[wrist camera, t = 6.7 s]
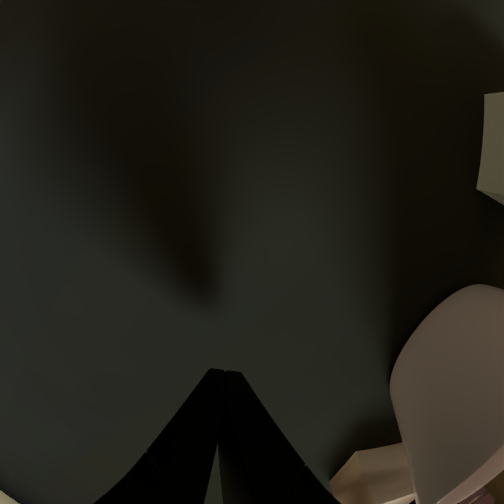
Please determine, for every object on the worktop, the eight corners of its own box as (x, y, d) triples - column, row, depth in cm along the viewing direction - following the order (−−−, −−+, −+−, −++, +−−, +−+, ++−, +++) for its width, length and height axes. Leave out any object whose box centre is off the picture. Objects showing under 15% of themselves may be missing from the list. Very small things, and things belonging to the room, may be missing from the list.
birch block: (379, 471, 13) (395, 512, 9) (329, 480, 13) (341, 527, 9) (408, 439, 12) (432, 485, 8) (354, 450, 12) (374, 505, 8)
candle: (336, 430, 11) (372, 541, 5) (408, 244, 8) (565, 348, 2) (461, 401, 11) (508, 467, 5) (525, 264, 9) (607, 315, 3)
